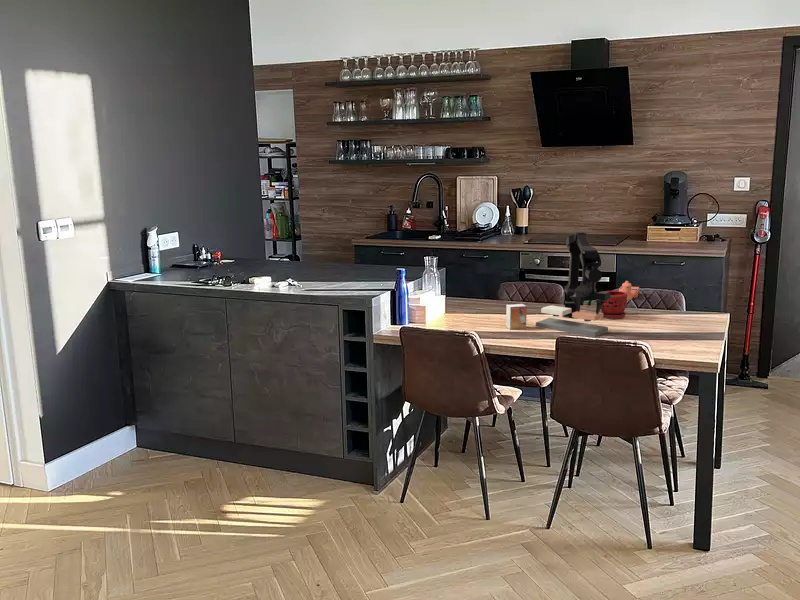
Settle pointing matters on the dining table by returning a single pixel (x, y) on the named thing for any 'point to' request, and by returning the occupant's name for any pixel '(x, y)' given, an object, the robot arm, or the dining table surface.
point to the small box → (516, 316)
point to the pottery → (629, 290)
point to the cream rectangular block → (556, 310)
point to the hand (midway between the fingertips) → (587, 312)
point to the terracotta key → (587, 315)
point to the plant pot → (615, 305)
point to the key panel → (572, 326)
